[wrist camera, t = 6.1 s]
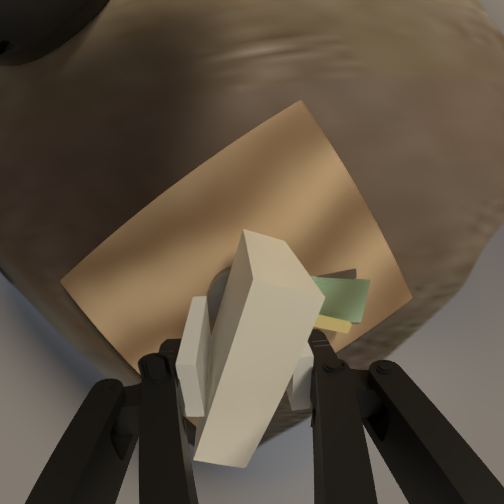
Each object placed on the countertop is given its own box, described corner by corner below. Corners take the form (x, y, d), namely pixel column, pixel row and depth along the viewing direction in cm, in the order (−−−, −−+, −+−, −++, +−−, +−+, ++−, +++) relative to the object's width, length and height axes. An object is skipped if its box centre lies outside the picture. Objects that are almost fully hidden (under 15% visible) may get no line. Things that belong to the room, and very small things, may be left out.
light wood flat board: (68, 274, 21) (58, 282, 19) (295, 104, 19) (301, 99, 17) (199, 416, 25) (197, 429, 23) (403, 290, 23) (413, 299, 21)
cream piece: (193, 344, 21) (175, 456, 12) (229, 218, 19) (227, 272, 10) (319, 370, 23) (361, 472, 13) (367, 260, 20) (455, 328, 11)
